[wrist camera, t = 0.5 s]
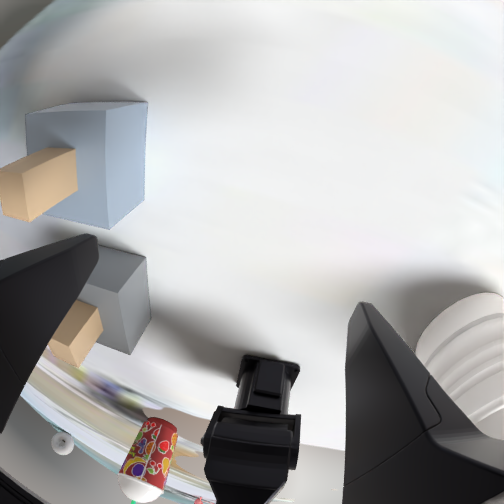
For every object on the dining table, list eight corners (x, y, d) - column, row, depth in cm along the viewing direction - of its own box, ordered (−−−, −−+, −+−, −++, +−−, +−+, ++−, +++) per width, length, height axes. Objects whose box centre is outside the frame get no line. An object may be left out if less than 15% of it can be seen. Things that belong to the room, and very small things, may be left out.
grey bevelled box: (151, 318, 31) (109, 394, 22) (91, 299, 32) (43, 362, 23) (146, 257, 27) (86, 336, 18) (79, 240, 27) (14, 302, 18)
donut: (60, 430, 79) (50, 449, 70) (56, 426, 77) (45, 445, 68) (79, 440, 77) (69, 460, 69) (75, 436, 75) (64, 456, 67)
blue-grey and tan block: (144, 199, 24) (66, 269, 15) (72, 187, 24) (-7, 242, 15) (147, 102, 19) (48, 125, 10) (70, 103, 20) (-26, 131, 11)
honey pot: (413, 382, 31) (429, 513, 15) (416, 310, 25) (459, 490, 10) (497, 355, 27) (534, 470, 12) (518, 278, 21) (593, 416, 6)
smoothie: (139, 407, 45) (100, 500, 28) (183, 422, 45) (150, 520, 28) (145, 425, 49) (112, 506, 32) (184, 438, 49) (156, 523, 32)
